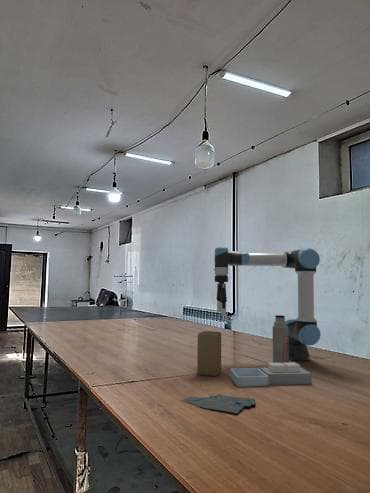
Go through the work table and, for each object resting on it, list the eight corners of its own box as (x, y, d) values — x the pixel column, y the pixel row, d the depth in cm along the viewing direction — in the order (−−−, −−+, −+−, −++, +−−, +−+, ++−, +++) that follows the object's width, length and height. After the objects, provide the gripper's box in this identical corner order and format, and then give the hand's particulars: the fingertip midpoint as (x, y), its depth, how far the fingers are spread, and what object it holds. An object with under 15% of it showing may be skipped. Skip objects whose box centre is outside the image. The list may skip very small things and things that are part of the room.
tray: (257, 376, 176) (257, 367, 177) (268, 386, 161) (268, 376, 161) (229, 376, 175) (229, 368, 175) (237, 386, 159) (237, 377, 160)
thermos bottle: (292, 371, 187) (291, 315, 190) (280, 373, 184) (279, 316, 186) (281, 368, 194) (280, 314, 197) (269, 369, 191) (269, 315, 193)
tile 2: (294, 368, 174) (294, 362, 174) (300, 372, 168) (300, 365, 168) (282, 369, 173) (282, 362, 173) (287, 372, 167) (287, 365, 167)
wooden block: (221, 372, 184) (221, 331, 186) (216, 377, 175) (216, 334, 177) (202, 370, 187) (202, 330, 189) (196, 375, 178) (197, 333, 180)
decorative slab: (204, 422, 120) (204, 416, 120) (176, 400, 142) (176, 394, 142) (270, 412, 130) (270, 406, 131) (234, 392, 152) (234, 387, 153)
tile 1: (280, 369, 173) (280, 362, 173) (285, 372, 167) (285, 365, 167) (268, 369, 172) (268, 362, 173) (272, 372, 166) (272, 365, 167)
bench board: (300, 376, 176) (300, 367, 177) (311, 383, 165) (311, 373, 165) (260, 377, 174) (260, 367, 175) (268, 384, 163) (268, 374, 163)
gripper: (211, 275, 217) (211, 311, 215) (218, 274, 192) (218, 315, 190) (224, 275, 217) (224, 311, 215) (232, 274, 192) (232, 315, 190)
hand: (221, 313), depth 202 cm, fingers open, 13 cm apart
